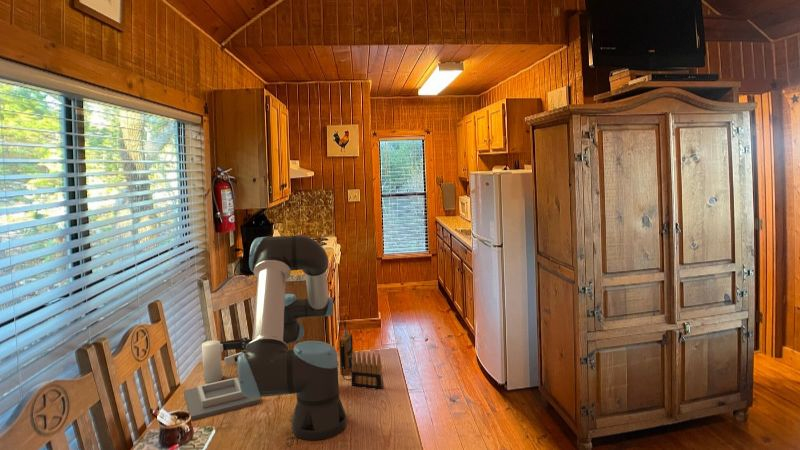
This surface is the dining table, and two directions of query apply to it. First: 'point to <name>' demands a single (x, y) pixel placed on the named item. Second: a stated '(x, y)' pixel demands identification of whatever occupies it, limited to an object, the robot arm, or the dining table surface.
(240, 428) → the dining table surface
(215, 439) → the dining table surface
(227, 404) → the socket block
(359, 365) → the ammunition clip
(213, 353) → the plug
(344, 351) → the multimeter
